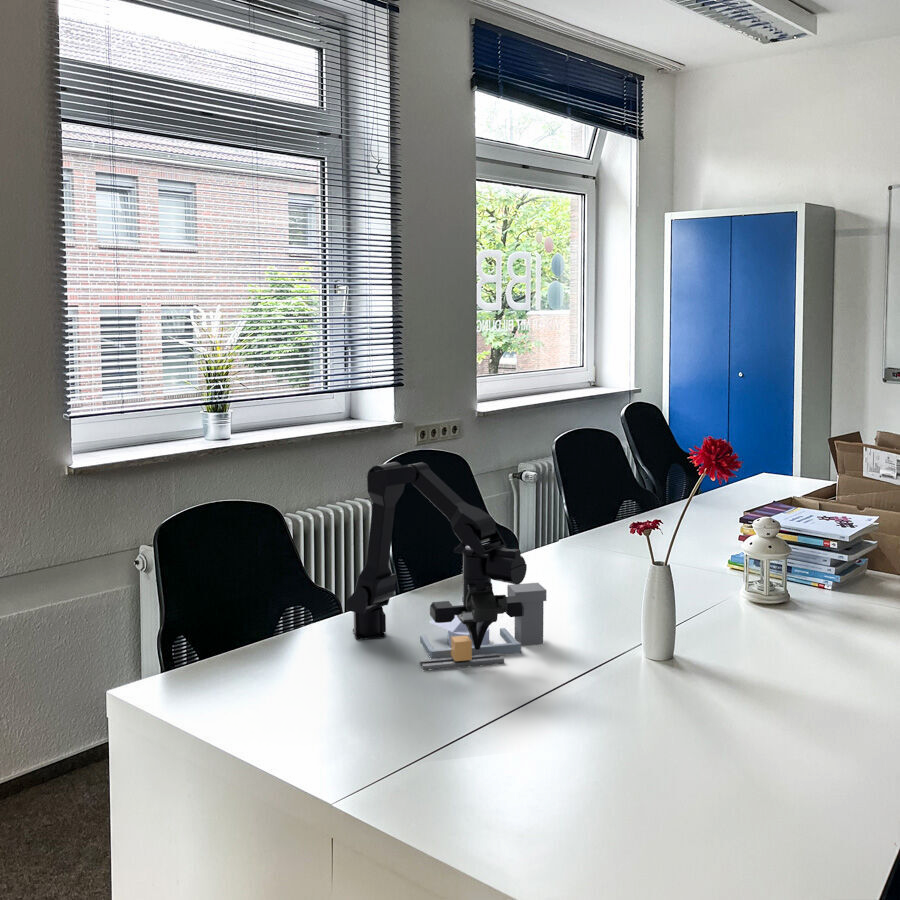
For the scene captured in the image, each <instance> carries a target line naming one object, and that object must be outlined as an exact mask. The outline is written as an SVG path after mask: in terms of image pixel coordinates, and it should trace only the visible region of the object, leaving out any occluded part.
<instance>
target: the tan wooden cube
mask: <svg viewBox="0 0 900 900" xmlns="http://www.w3.org/2000/svg"><path fill="white" fill-rule="evenodd" d="M450 648H451V656H452V657H453V659H454V661H464V660H472V641H471V639H470V638H469V637H468V635H467V636H455V637H451V646H450Z"/></svg>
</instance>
